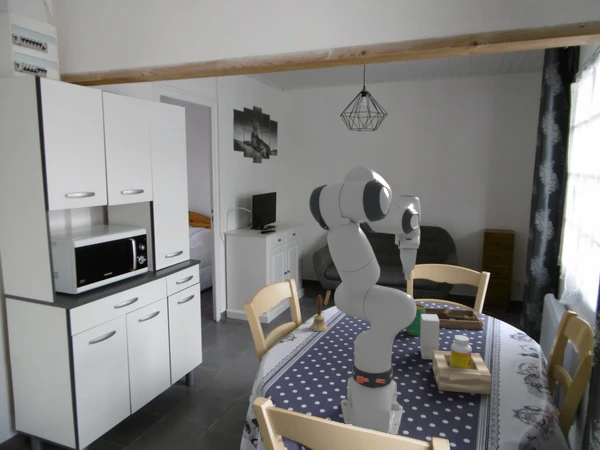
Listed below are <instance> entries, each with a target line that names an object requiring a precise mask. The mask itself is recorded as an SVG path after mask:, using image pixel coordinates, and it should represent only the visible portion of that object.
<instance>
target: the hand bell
mask: <svg viewBox="0 0 600 450" xmlns="http://www.w3.org/2000/svg"><path fill="white" fill-rule="evenodd" d="M316 306H317V312H316V313H317V315H315V316H314V318H313V322H312V324H311V325H310V327H309V329H310V331H313V332H318V333H322V332H326V331H328V330H329V327H328V326H327V325H326V322H325V318H324V316H323V315H322V306H323V298H322V295H321V294H318V295H317V297H316Z"/></svg>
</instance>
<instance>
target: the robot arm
mask: <svg viewBox="0 0 600 450" xmlns="http://www.w3.org/2000/svg"><path fill="white" fill-rule="evenodd" d="M392 199H393V191H392V188H391V185H389V183H388V182H387V181H386V180H385V179H384V178H383V177H382V176H381V175H380V174H379V173H378V172H376V171H375V170H374V169H372V168H370V167H368V166H367V165H366V166H364V165H356V166H354V167H352V168H351V169H349V170H348V171H347V172H346V173H345V175H344V177H343V182H338V183H332V184H323V185H319V186H318V187H315V188H314V189H313V190H312V192H311V194H310V197H309V200H308V201H309V203H308V205H309V210H310V214H311V215H312V217H313V219H314V220H315V222H317V223H318V224H319V226H320V228H321V229H323V230H326V231H328V232H327V234H326V235H327V236H326V238H327V239H326V241H327V246H328V249H329V253H330V257H331V259H332V261H333V264H334V266H335V268H336V270H337V272H338V275H339V277H340V279H341V283H339V284H338V286H337V287H336V289H335V292H334V294H333V295H334V297H333V300H334V305H335V307H336V309H337V310H338V311H340V312H341V313H344V314H346V315H347V316H349V317H352V318H356V319H359V320H363V321H366V322H369V324H370V327H369V329H368V330H364V331H361V332H360V333H359V334H358V335H357V336H356V337H355V340H354V344H353V345H354V346H353V347H354V349H353V350H354V351H353V352H354V353H353V357H354V358H353V362H352V365H351V366H352V368H351V370H352V371H351V372H352V375H351V376H350V377H349V378H348V379H347V395H346V397H345V399H343V400H341V401H340V407H341V412H342V419H343V422H344V424H345V423H346V424H352V425H355V426H359V427H364V428H369V429H373V430H377V431H381V432H385V433H391V434H397V435H398V434H399V429H400V425H401V422H402V417H403V412H404V407H403V406H402V405H401V404H399V402H398V401H397V398H398V397H399V395H398V394H399V392H398V391H397V386H398V385H397V384H398V383H397V382H396V381H395V380H394V379H393V374H394V373H393V372H394V371H393V365H392V353H393V352H392V351H393V343H394V340H395V338H396V336H397V335H398V334H399V332H400V331H402V330H403V329H406V327H408V326H409V325H410V324H411V323H412V322H413V320H414V319H415V316H416V311H417V309H416V301H415V299H414V297H413V296H412V295H411V294H409V293H406V292H405V291H403V290H400V289H397V288H393V287H390V286H389V287H388V286H383V285H379V284H376V283H378V281H379V279H380V276H381V267H380V264H379V262H378V260H377V257H376V254H375V252H374V250H373V247H372V245H371V242H370V241H369V239H368V238H367V235H366V234H365V232H364V231H363V230H362V228H361V225H360V223H362V224H363V226H364V228H365V230H367V232H368V233H375V234H376V233H377V234H378V233H382V234H392V235H394V236H395V237H394V244H395V245H397V246H398V247H397V248H398V249H399V258H400V261H401V264H402V274H404V281H405V280H406V281H411V274H412V271H414V270H415V267H416V259H417V252H418V251H417V250H418V249H419V247H420V244H421V229H420V223H421V218H422V215H421V214H422V213H421V212H422V211H421V209H422V208H421V202H420V201H421V200H420V198H419V197H418V196H414V195H399V196H398V198H397V201H396V205H395V206H393V205H391V203H392Z"/></svg>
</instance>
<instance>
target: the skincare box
mask: <svg viewBox="0 0 600 450" xmlns="http://www.w3.org/2000/svg"><path fill="white" fill-rule="evenodd" d="M419 339H420V345H419V346H420V347H419V348H420V349H419V351H420V354H421V355H420V357H421V359H423V360H430V361H431V360H432V361H433V350H435V351H440V327H439V319H438V316H437V314H421V335H420V338H419Z"/></svg>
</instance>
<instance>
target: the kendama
mask: <svg viewBox="0 0 600 450" xmlns="http://www.w3.org/2000/svg"><path fill="white" fill-rule="evenodd" d="M451 309H452V308H449V307H443V309H442V310H441V312H438V313H434V312H432V314H437V316H438V319H447V320H465V321H476V318H475V316H473V317H468V316H466V315H464V316H452V315H453V312H452V310H451Z"/></svg>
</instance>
